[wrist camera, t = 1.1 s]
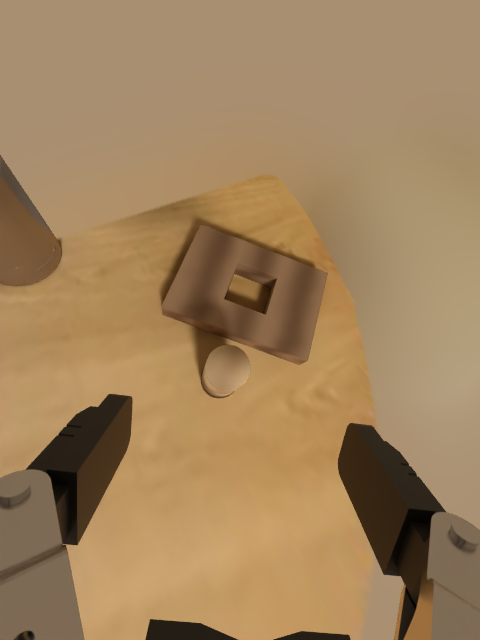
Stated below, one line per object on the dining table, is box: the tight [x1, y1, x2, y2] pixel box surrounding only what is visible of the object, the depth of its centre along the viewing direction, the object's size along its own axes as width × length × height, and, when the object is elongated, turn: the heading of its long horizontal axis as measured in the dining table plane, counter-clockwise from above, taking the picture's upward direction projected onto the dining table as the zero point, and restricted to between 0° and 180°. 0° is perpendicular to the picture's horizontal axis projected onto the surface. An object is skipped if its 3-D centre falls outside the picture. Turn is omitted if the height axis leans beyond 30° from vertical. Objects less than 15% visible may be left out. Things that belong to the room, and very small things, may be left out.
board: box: [161, 224, 328, 365], centre depth 41 cm, size 20×14×3 cm
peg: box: [201, 345, 251, 398], centre depth 33 cm, size 5×5×10 cm
